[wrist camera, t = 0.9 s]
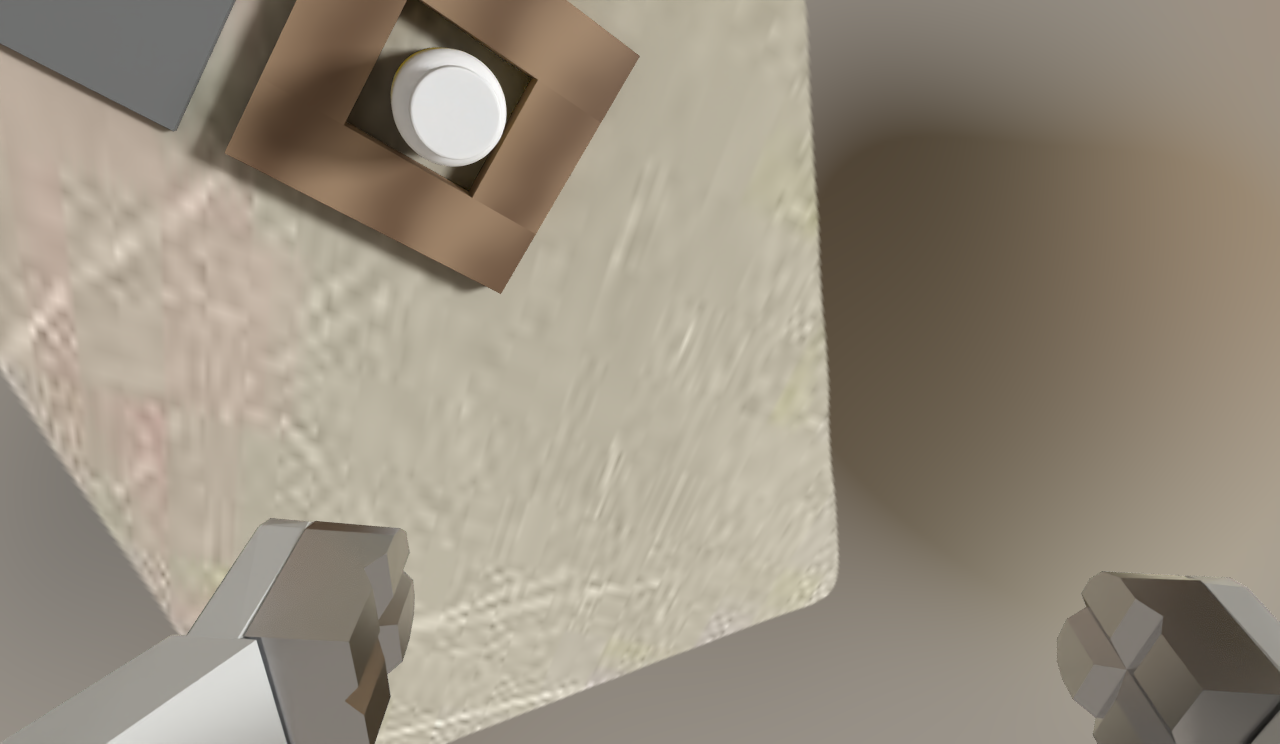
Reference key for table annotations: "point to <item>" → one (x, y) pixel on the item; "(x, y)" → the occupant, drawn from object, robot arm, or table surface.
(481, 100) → the supplement bottle
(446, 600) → the table surface
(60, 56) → the rubber mat
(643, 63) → the table surface
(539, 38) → the socket block
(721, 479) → the table surface
